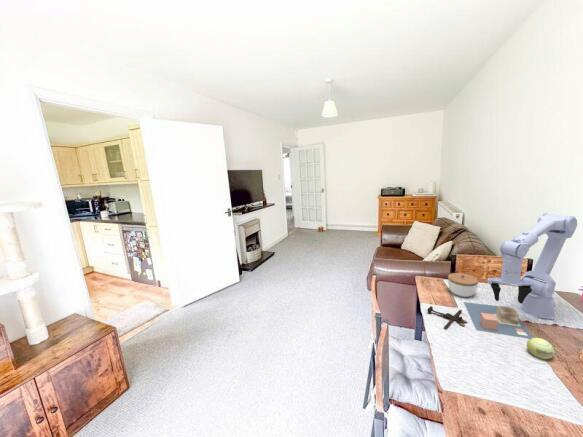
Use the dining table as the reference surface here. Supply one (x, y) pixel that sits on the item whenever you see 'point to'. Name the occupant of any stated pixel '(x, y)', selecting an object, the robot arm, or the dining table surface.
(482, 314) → the terracotta block
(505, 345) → the dining table surface
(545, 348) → the tennis ball
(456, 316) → the bear figurine
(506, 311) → the maple block
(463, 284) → the lidded bowl
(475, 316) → the board
